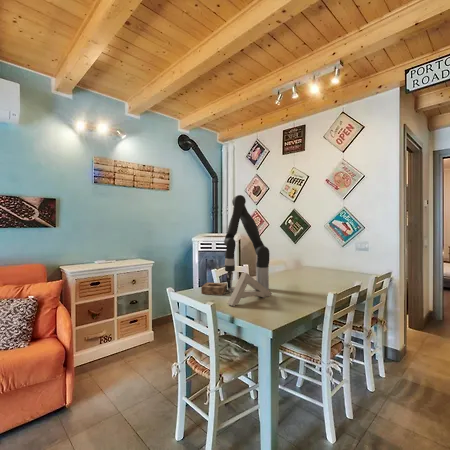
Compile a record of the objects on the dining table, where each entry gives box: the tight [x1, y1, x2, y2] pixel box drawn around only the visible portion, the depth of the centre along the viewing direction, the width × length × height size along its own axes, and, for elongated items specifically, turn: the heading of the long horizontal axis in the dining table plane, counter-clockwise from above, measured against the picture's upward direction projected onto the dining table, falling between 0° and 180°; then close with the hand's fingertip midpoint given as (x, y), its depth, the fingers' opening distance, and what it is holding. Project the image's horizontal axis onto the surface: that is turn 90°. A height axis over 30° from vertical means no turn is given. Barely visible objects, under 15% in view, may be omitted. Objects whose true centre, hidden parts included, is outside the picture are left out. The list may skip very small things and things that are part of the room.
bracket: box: [227, 278, 236, 293], centre depth 204 cm, size 8×4×10 cm, turn 78°
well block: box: [200, 281, 228, 296], centre depth 202 cm, size 16×14×5 cm
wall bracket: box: [227, 271, 272, 307], centre depth 181 cm, size 22×4×30 cm
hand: (229, 287), depth 205 cm, fingers closed on bracket, 4 cm apart
